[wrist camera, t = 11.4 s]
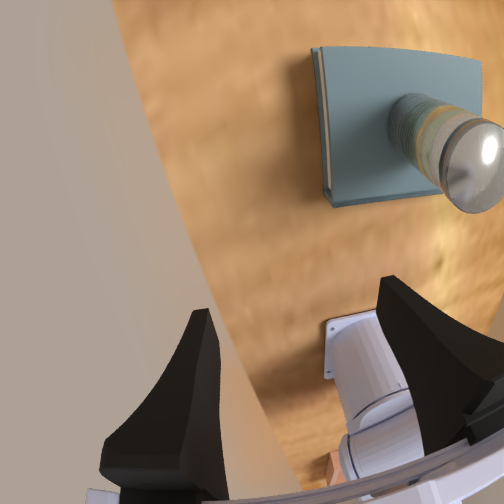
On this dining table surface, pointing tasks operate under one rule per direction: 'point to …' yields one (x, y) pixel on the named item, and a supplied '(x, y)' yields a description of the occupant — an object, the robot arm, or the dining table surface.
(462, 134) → the tea tin
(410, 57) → the hardcover book
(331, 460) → the open box
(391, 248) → the dining table surface
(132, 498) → the robot arm
